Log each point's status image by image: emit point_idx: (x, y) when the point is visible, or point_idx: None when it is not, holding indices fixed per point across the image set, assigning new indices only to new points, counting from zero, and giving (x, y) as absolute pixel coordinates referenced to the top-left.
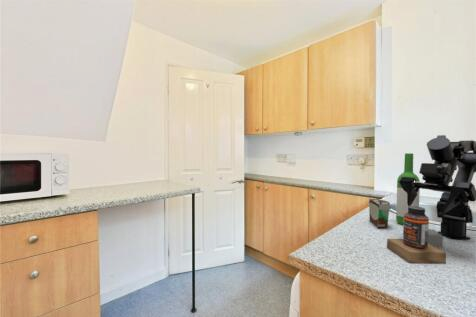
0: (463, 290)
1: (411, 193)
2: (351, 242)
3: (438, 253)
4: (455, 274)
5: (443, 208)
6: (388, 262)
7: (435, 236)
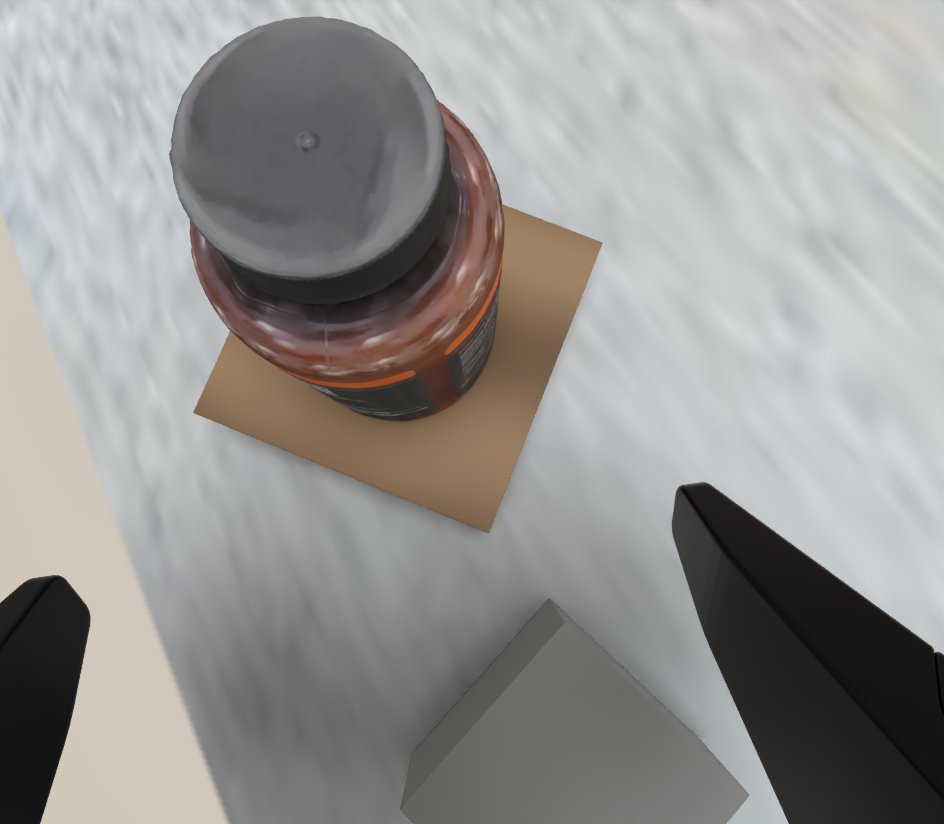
0: (5, 129)
1: (889, 745)
2: (776, 99)
3: (224, 352)
4: (116, 298)
5: (28, 612)
6: None
7: (447, 753)
